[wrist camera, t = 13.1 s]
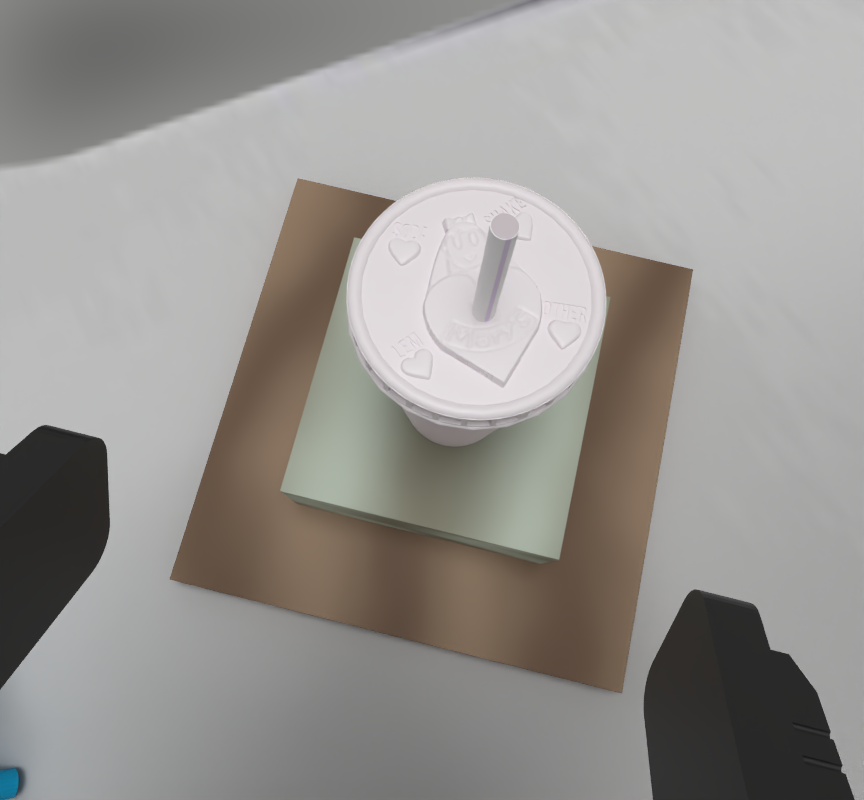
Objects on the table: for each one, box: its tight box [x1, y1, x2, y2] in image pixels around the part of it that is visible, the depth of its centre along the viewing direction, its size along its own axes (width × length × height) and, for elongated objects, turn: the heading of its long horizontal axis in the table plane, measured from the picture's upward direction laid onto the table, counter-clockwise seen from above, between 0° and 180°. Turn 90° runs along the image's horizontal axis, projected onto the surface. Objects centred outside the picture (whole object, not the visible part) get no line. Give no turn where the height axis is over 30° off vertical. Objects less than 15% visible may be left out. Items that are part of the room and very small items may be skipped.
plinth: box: [170, 179, 693, 693], centre depth 30 cm, size 18×18×5 cm
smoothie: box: [346, 177, 606, 447], centre depth 21 cm, size 6×6×14 cm
